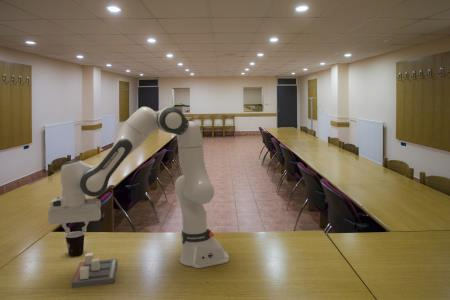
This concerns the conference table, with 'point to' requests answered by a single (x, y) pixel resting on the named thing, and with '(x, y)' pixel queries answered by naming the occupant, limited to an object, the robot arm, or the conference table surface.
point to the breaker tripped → (95, 264)
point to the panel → (96, 274)
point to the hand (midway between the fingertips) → (76, 232)
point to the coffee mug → (75, 243)
